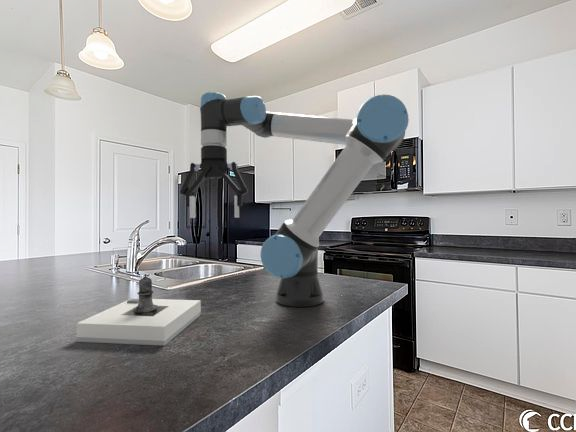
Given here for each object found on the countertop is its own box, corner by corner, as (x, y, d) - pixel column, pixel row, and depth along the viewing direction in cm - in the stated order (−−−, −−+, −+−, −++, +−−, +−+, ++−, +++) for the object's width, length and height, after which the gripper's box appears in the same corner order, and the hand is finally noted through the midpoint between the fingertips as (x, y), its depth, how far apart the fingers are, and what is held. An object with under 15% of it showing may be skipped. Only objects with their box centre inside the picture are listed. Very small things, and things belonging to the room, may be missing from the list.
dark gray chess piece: (148, 327, 73) (148, 276, 73) (126, 325, 74) (126, 275, 74) (163, 319, 79) (163, 272, 79) (143, 317, 80) (142, 271, 80)
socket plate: (200, 314, 85) (200, 298, 85) (164, 345, 66) (164, 323, 66) (131, 312, 88) (131, 296, 87) (76, 341, 68) (76, 320, 68)
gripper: (257, 148, 96) (257, 217, 96) (179, 150, 98) (179, 217, 98) (252, 143, 89) (253, 217, 89) (167, 145, 91) (168, 218, 91)
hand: (214, 217), depth 94 cm, fingers open, 13 cm apart
